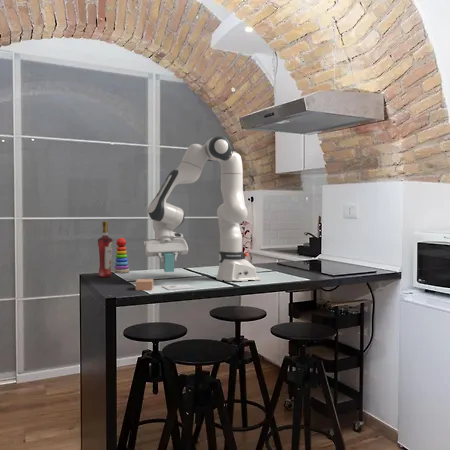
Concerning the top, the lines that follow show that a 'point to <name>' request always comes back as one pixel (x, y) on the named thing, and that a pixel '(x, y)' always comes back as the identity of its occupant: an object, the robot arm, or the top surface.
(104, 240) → the liquor
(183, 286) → the plate
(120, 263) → the stacking toy
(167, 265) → the teal brick
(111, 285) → the top surface
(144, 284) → the base brick
